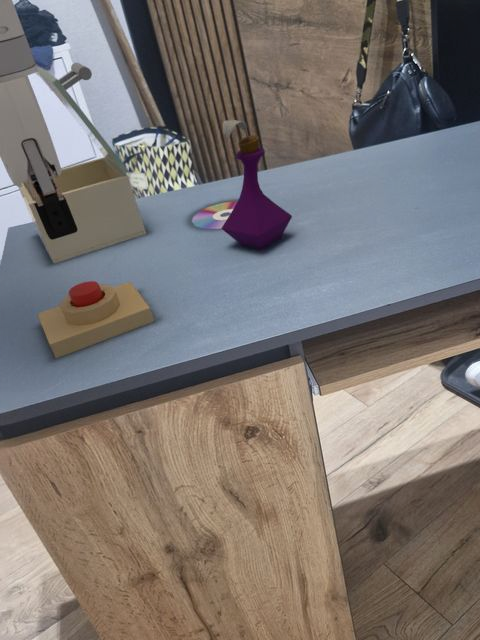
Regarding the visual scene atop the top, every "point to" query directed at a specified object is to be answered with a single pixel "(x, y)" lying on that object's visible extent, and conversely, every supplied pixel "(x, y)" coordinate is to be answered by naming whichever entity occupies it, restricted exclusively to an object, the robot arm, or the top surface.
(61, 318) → the control block
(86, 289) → the button
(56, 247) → the compartment
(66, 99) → the lid
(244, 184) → the perfume bottle
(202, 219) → the cd
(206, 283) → the top surface
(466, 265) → the top surface
